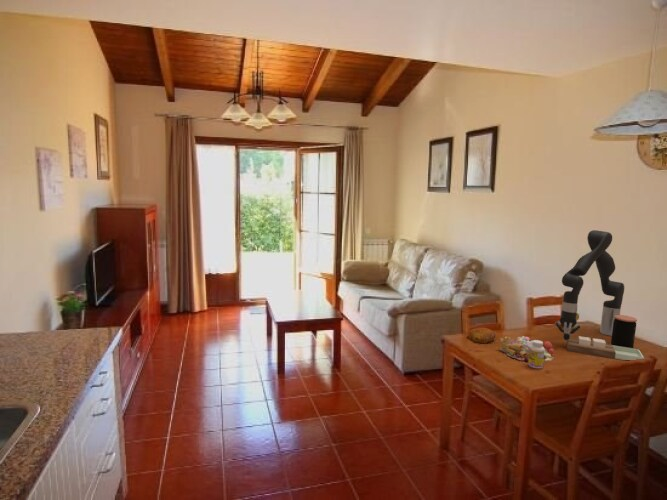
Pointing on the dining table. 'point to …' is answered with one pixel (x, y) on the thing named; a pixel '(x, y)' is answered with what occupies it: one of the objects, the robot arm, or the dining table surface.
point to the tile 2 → (599, 343)
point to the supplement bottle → (536, 354)
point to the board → (590, 349)
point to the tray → (627, 353)
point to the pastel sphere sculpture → (523, 348)
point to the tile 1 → (584, 341)
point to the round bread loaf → (481, 335)
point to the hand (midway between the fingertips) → (565, 339)
